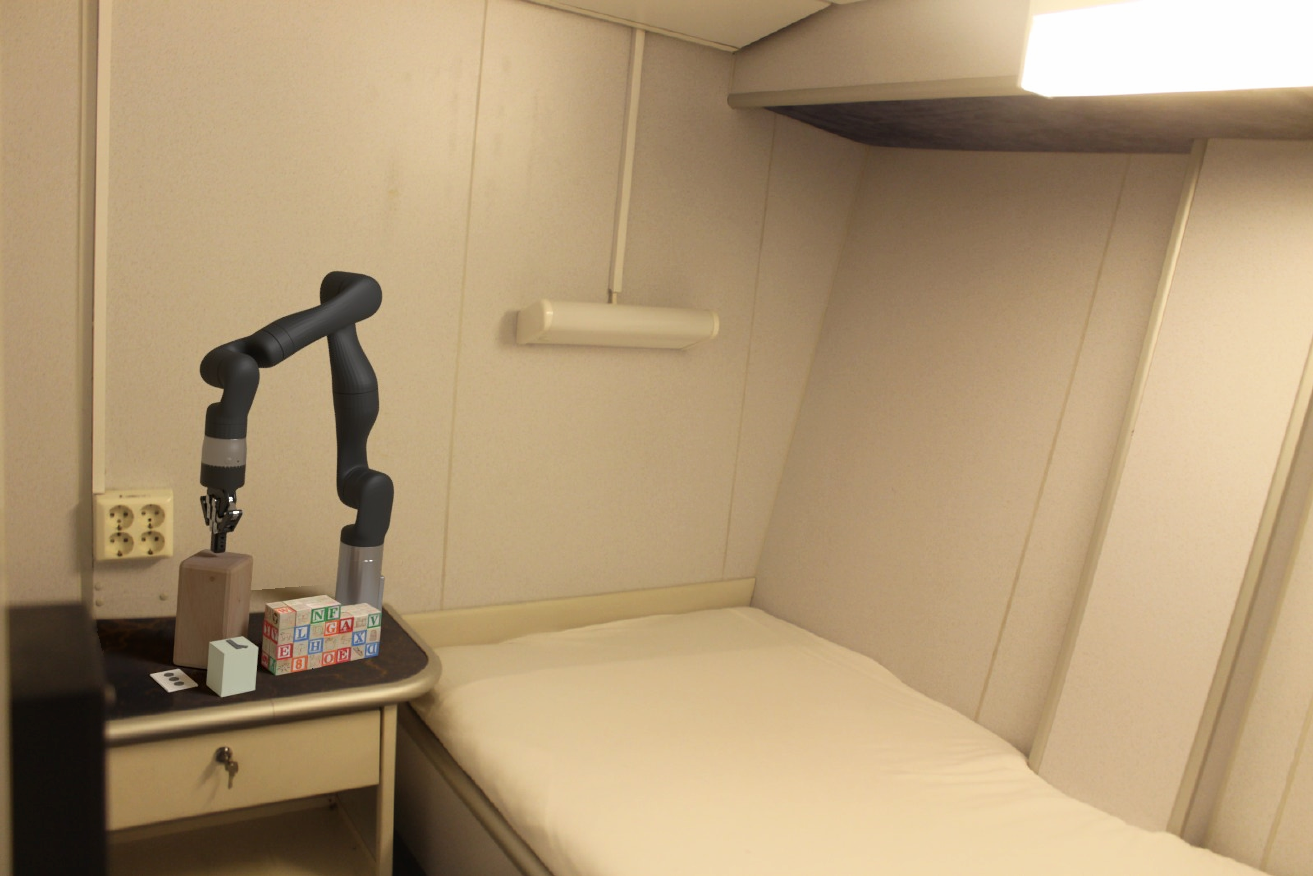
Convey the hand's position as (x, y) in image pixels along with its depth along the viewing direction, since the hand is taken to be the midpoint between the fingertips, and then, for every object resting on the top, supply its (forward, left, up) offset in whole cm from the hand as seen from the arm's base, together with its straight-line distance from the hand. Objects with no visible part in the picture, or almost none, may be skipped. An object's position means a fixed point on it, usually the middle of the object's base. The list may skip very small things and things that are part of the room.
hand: (217, 551), depth 181 cm
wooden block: (0, 0, -21) cm, 21 cm away
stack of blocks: (-17, +9, -21) cm, 29 cm away
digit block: (+2, +13, -21) cm, 25 cm away
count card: (+9, +6, -21) cm, 24 cm away
